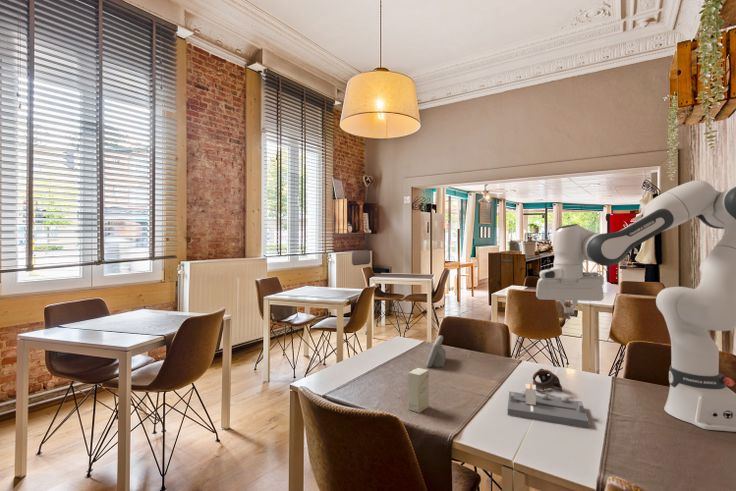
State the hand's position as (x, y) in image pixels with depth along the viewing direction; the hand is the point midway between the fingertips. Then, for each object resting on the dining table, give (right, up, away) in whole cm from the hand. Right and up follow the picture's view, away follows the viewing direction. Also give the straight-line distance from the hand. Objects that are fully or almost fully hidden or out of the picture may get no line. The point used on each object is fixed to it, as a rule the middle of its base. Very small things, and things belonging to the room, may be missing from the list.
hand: (569, 313), depth 130 cm
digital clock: (-39, -29, +39) cm, 62 cm away
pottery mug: (-4, -30, +9) cm, 31 cm away
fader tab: (-16, -27, -7) cm, 32 cm away
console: (-12, -30, -8) cm, 33 cm away
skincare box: (-52, -30, -5) cm, 60 cm away
